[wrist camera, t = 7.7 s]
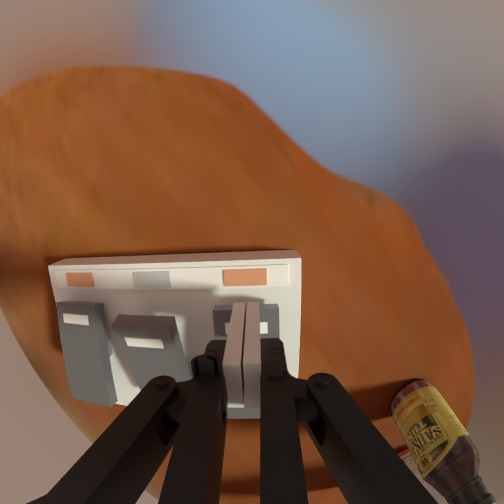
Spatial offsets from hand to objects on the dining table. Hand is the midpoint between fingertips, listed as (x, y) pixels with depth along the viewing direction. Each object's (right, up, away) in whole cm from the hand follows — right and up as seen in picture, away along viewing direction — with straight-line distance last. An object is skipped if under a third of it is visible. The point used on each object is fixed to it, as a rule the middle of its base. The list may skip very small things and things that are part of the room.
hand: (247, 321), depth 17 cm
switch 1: (-14, -4, +2) cm, 15 cm away
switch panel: (-7, -3, +7) cm, 10 cm away
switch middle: (-7, -4, +2) cm, 8 cm away
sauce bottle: (+20, -13, +9) cm, 25 cm away
